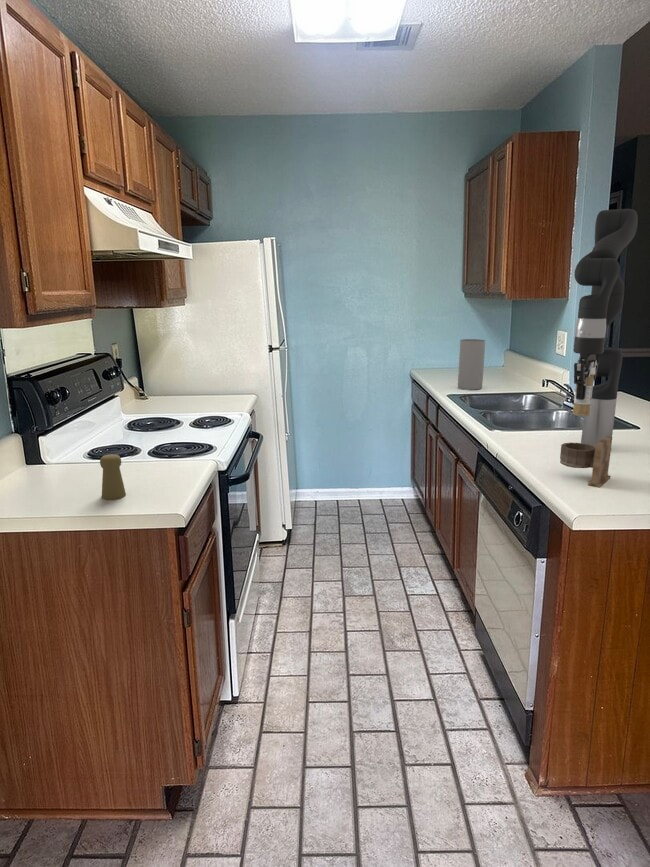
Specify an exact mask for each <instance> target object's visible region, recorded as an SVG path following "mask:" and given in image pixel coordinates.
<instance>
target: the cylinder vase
mask: <svg viewBox="0 0 650 867" xmlns="http://www.w3.org/2000/svg"><path fill="white" fill-rule="evenodd" d="M459 341H460V342H459V357H458V358H459V359H458V376H457V378H458V379H457V388H458V389H460V390H464V389H469V390H468V391H475V390H474V389H479V390H482V388H483V382H484V369H485V368H484V367H485V366H484V365H485V352H486V349H485V348H486V340H485V339H476V338H475V339H473V338H466V339H465V338H464V339H459Z"/></svg>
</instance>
